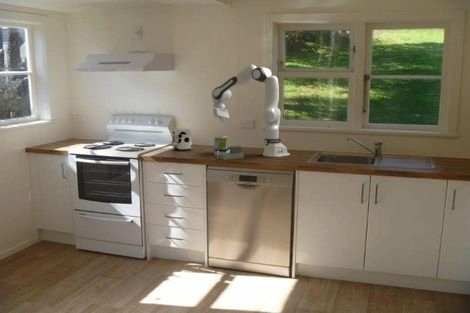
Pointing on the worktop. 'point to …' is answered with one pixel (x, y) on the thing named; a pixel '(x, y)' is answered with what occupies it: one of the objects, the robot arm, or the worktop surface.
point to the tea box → (222, 144)
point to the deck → (231, 153)
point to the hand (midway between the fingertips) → (223, 122)
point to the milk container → (182, 139)
